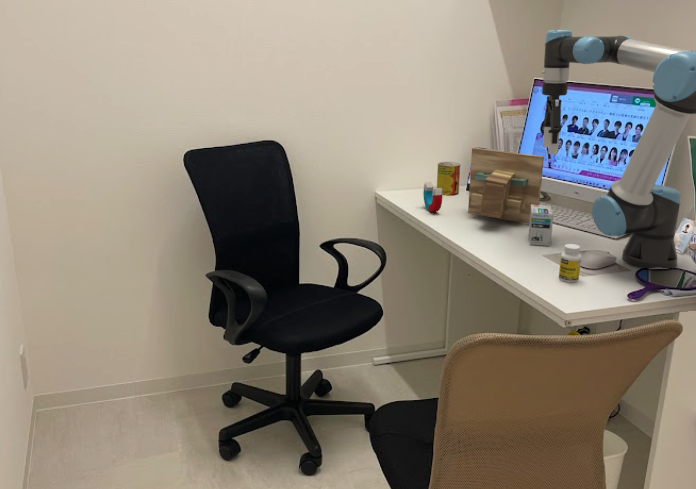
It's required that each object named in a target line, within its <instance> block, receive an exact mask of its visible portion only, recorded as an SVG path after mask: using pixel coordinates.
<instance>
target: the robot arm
mask: <svg viewBox="0 0 696 489" xmlns="http://www.w3.org/2000/svg"><path fill="white" fill-rule="evenodd" d="M544 46H545V47H544V61H543V70H542V71H541V74H542V76H543V78H542V81H544V82H543V83H542V85H541V86H542V87H541V88H542V89H541V94H542V95H543V96H547V97H546V102H545V103H546V105H545V112H544V118H543V124H544V127H543V128H544V129H543V142H542V147H543V148H548V152H547V153H548V155H559V154H558V153H559V141H560V140H559V139H560V133H561V131H562V128H561V126H562V125H561V124H562V123H561V122H562V121H561V120H562V118H561V117H562V114H561V113H562V102H563V101H562V99H560V96H561V97H562V96H566V95H567V94H568V86H569V85H568V81H569V77H570V76H569V75H570V63H573V64H582V65H590V64H591V65H592V64H597V63H598V64H601V63H613V64H618V65H622V66H626V67H630V68H635V69H639V70H642V71H647V72H650V73H653V76H652V83H653V85H652V88H653V91H654V95H653V100H654V102H655V107H654V108H653V111H652V112H651V115H650V117H649V119H648V121H647V123H646V125H645V128H644V129H643V132H642V134H641V136H640V138H639V140H638V142H637V145H635V148H634V151H633V153H632V154H631V157H630V158H629V161H628V163H627V165H626V167H625V169H624V172H623V173H622V176H621V177H620V179H616V180H615V181H613V182H612V184H611V186H609V187H610V188H609V190H608V191H607V193H606V194H603V195H601V196H599V197H597V198H596V199H595V200H594V202H593V203H592V208H591V214H592V218H593V223H594V224H595V227H596V228H597V229H598V230H599V231H600V232H601V233H602V234H604V235H606V236H607V237H608V236H610V237H614V236H615V237H616V236H617V237H620V236H621V237H622V236H625V235H630V234H631V235H630V237H629V238H628V240H627V242H626V244H625V246H624V248H623V251H622V254H621V255H622V256H621V259H622V261H623V262H624V263H625V264H628V265H630V266H632V267H636V268H640V269H644V268H652V267H662V268H672V269H674V268H675V267H677V264H678V255H677V249H676V248H677V247H676V243H675V235H676V230H677V223H678V216H679V211H680V206H681V196H682V195H681V193H680V191H679V190H678V189H677V188H673V187H669V186H667V185H660V184H656V183H657V181H658V179H659V177H660V175H661V173H662V171H663V169H664V167H665V165H666V163H667V161H668V159H669V158H670V156H671V154H672V152H673V150H674V148H675V147H676V144H677V143H678V140H679V138H680V136H681V135H682V133H683V131H684V129H685V126H686V125H687V123H688V121H689V119H690V118H691V117H693V116H695V115H696V50H695V51H694V50H689V49H688V50H687V49H683V48H679V47H673V46H668V45H664V44H657V43H653V42H648V41H644V40H643V41H642V40H638V39H633V38H632V37H630V36H628V35H627V36H625V35H615V36H614V35H613V36H573V31H572V30H571V29H550V30H548V31H547V32H546V36H545V43H544Z"/></svg>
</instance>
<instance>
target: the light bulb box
mask: <svg viewBox="0 0 696 489" xmlns="http://www.w3.org/2000/svg"><path fill="white" fill-rule="evenodd" d="M553 221H554V212H553V209H552V206H551V205H542V204H539V205H531V210H530V223H529V224H528V225H529V227H528V240H529V245H530V246H541V247H542V246H544V247H551V245H552V244H551V243H552V242H551V241H552V233H553V230H552V229H553Z"/></svg>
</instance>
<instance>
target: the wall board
mask: <svg viewBox="0 0 696 489" xmlns="http://www.w3.org/2000/svg"><path fill="white" fill-rule="evenodd" d="M544 157H545V156H544V155H536V154H529V153H519V152H512V151H503V150H498V149H497V150H496V149H488V148H481V147H480V148H478V147H473V148H472V147H471V157H470V158H471V160H470V176H469V189H468V190H469V191H468V193H469V194H468V206H467V207H468V208H467V213H468V214H471V215H476V216H477V215H478V216H483V217H489V218H494V219H499V220H505V221H509V222H510V221H511V222H514V223H515V222H516V223H521V224H527V225H529V223H530V210H531V205H540V203H541V202H540V201H541V192H542V182H543V180H542V179H543V170H544V169H543V168H544V161H545V160H544V159H545V158H544ZM495 170H500V171H505V172H511V173H514V178H512V179H511V182H510V188H509V193H508V199H507V205H506V211H505V212H504V213H503V215H502V216H501V218H498V217H493V216H488V215H483V214H480V209H481V202H482V196H483V189H484V183H485V179H486V178H487V177H488V176H489V175H490V174H492V173H493V172H494V171H495Z"/></svg>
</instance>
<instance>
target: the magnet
mask: <svg viewBox="0 0 696 489" xmlns="http://www.w3.org/2000/svg"><path fill="white" fill-rule="evenodd" d="M423 202H424V205H425V208H426V210H427V212H430V213H435V212H439V211H440V209H441V207H442V204H443V195H442V188H437V187H434V184H433V182H432V181H429V182H428V181H427V182H424V185H423Z"/></svg>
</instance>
